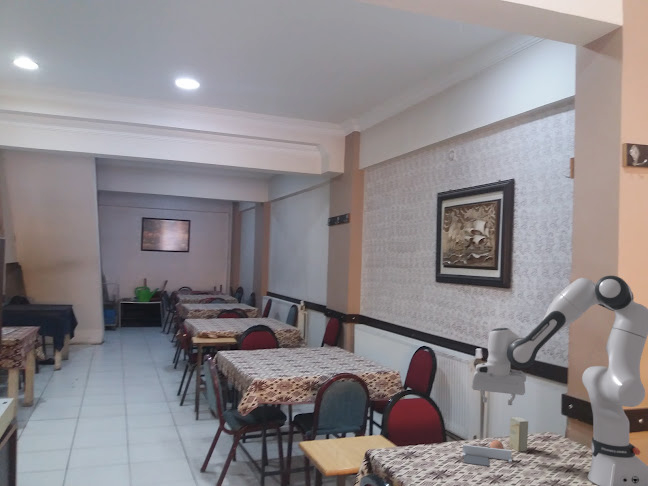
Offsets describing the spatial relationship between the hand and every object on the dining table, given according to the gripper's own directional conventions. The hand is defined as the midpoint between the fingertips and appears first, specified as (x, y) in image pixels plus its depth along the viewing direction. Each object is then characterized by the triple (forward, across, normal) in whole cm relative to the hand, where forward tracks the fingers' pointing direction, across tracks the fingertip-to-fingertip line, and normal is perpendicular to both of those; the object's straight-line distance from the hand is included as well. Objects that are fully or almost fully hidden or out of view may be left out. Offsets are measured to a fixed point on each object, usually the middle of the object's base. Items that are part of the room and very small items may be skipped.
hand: (497, 403), depth 206 cm
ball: (+20, 0, 0) cm, 20 cm away
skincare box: (+20, -9, -9) cm, 24 cm away
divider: (+20, +4, +6) cm, 21 cm away
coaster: (+20, +8, +11) cm, 24 cm away
